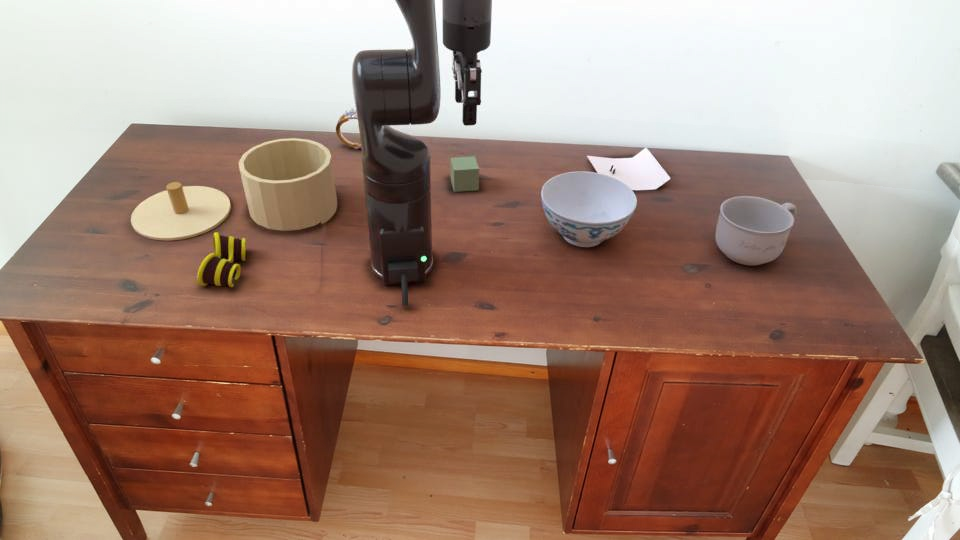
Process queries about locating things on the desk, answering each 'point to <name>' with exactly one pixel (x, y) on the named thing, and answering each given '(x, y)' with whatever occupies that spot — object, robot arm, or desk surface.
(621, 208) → the chinaware
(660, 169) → the folded paper
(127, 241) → the desk surface
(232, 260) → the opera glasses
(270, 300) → the desk surface
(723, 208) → the teacup
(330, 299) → the desk surface
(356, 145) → the ring
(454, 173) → the block
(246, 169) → the canister
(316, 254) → the desk surface
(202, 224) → the canister lid
